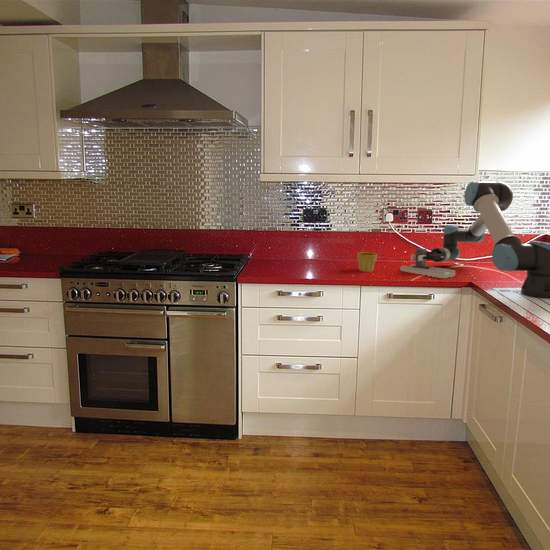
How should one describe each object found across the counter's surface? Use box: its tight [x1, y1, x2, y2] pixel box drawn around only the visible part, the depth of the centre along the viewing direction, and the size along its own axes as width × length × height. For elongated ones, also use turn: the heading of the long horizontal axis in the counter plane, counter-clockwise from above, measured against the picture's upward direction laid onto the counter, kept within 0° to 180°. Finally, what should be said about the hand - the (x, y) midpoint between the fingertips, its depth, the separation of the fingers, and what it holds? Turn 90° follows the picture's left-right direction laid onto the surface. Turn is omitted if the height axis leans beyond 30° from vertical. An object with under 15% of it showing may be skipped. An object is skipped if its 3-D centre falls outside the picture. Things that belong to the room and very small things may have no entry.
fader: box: [412, 247, 430, 269], centre depth 268 cm, size 6×7×10 cm
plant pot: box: [356, 251, 378, 273], centre depth 270 cm, size 10×10×10 cm
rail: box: [399, 263, 456, 279], centre depth 265 cm, size 26×10×3 cm, turn 40°
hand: (415, 257), depth 264 cm, fingers closed on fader, 3 cm apart
